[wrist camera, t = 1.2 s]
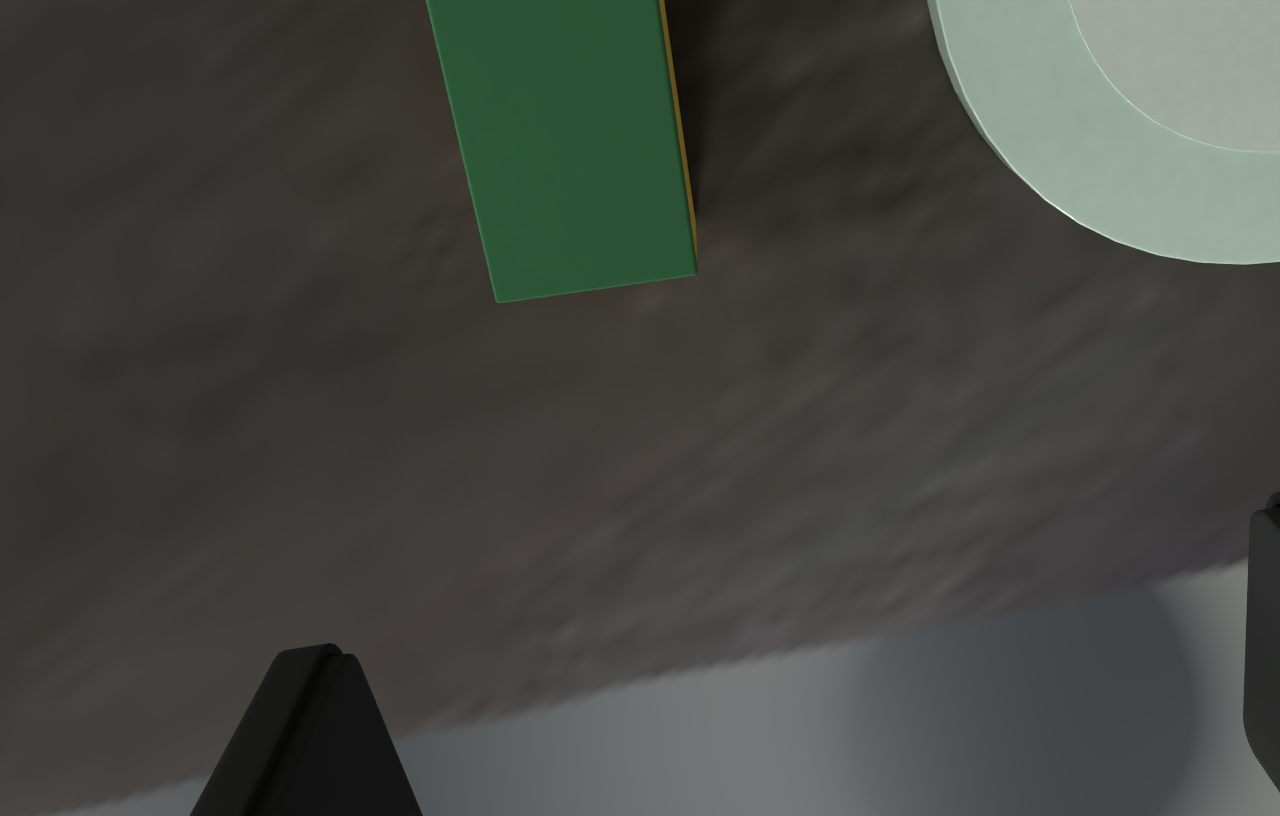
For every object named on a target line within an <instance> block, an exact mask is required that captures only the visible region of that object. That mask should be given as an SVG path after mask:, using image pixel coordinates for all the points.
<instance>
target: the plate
mask: <svg viewBox="0 0 1280 816" xmlns="http://www.w3.org/2000/svg"><path fill="white" fill-rule="evenodd" d="M927 2H928V7H929V11H930V15H931V20H932V24H933V28H934V32H935V36H936V40H937V44H938V48H939V51H940V54H941V57H942V59H943V62H944V64H945V67H946V69H947V72H948V74H949V77H950V79H951V82H952V85H953V87H954V90H955V92H956V94H957V95H958V97H959V99H960V101H961V102H962V104H963V106H964V108H965V110H966V111H967V113H968V115H969V117H970V118H971V120H972V122H973V124H974V125H975V127H976V129H977V130H978V131H979V133H980V134H981V135H982V137H983V138H984V139H985V140H986V142H987V143H988V144H989V145H990V147H991V148H992V149H993V151H994V152H995V153H996V154H997V156H998V157H999V158H1000V159H1001V161H1002V162H1003V163H1004V164H1005V165H1006V166H1007V167H1008V168H1009V169H1010V170H1012V171H1013V172H1014V173H1015V174H1016V175H1017V176H1018V177H1019V178H1020V179H1021V180H1022V181H1023V182H1024V183H1025V184H1026V185H1027V186H1029V187H1030V188H1031V189H1032V190H1033V191H1034V192H1035V193H1037V194H1038V195H1039V196H1040V197H1042V198H1043V199H1044V200H1046V201H1047V202H1048V203H1050V204H1051V205H1053V206H1054V207H1056V208H1057V209H1059V210H1060V211H1061V212H1063V213H1064V214H1066V215H1067V216H1069V217H1070V218H1072V219H1073V220H1074V221H1076V222H1077V223H1079V224H1081V225H1083V226H1085V227H1087V228H1089V229H1091V230H1093V231H1095V232H1097V233H1099V234H1101V235H1103V236H1105V237H1107V238H1109V239H1111V240H1113V241H1116V242H1118V243H1121V244H1124V245H1127V246H1131V247H1134V248H1137V249H1140V250H1143V251H1146V252H1149V253H1152V254H1155V255H1160V256H1166V257H1171V258H1177V259H1182V260H1188V261H1194V262H1200V263H1222V264H1257V263H1270V262H1280V0H927Z"/></svg>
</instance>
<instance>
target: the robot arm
mask: <svg viewBox="0 0 1280 816" xmlns="http://www.w3.org/2000/svg"><path fill="white" fill-rule="evenodd" d="M1245 649H1246V650H1245V676H1244V705H1243V721H1244V728H1245V733H1246V736H1247V739H1248V742H1249V744H1250V747H1251V749H1252V751H1253V753H1254V755H1255V756H1256V758H1257V759H1258V761H1259V762H1260V764H1261V765H1262V767H1263V768H1264V770H1265V771H1266V773H1267V774H1268V776H1269V777H1270V779H1271V780H1272V781H1273V783H1274V785H1275V786H1276V787H1277V789H1278V790H1279V792H1280V492H1276V493H1274V494H1272V495H1271V496H1270V498H1269V500H1268V502H1267V505H1266V509H1263V510H1257V511H1255V512H1254V513H1253V514H1252V516H1251V520H1250V531H1249V560H1248V591H1247V619H1246V648H1245ZM190 816H423V815H422V813H421V810H420V808H419V806H418V803H417V801H416V798H415V796H414V793H413V791H412V789H411V786H410V784H409V781H408V779H407V777H406V774H405V772H404V769H403V767H402V764H401V762H400V759H399V757H398V755H397V752H396V750H395V747H394V745H393V743H392V740H391V738H390V735H389V733H388V730H387V728H386V726H385V723H384V721H383V718H382V716H381V713H380V711H379V709H378V706H377V704H376V701H375V699H374V696H373V694H372V692H371V689H370V687H369V684H368V682H367V679H366V677H365V675H364V672H363V670H362V667H361V665H360V663H359V661H358V659H357V658H356V657H355V656H354V655H353V654H344V655H343V653H342V651H341V650H340V649H339V648H338V647H337V646H336V645H335V644H331V643H328V644H322V645H316V646H309V647H303V648H297V649H290V650H284V651H282V652H280V653H279V654H278V655H277V656H276V658H275V659H274V660H273V662H272V664H271V666H270V668H269V670H268V672H267V673H266V675H265V677H264V679H263V681H262V683H261V685H260V686H259V688H258V690H257V692H256V694H255V696H254V698H253V699H252V701H251V703H250V705H249V707H248V709H247V711H246V712H245V714H244V716H243V718H242V720H241V722H240V723H239V725H238V727H237V729H236V731H235V733H234V735H233V736H232V738H231V740H230V742H229V744H228V746H227V748H226V749H225V751H224V753H223V755H222V757H221V759H220V761H219V762H218V764H217V766H216V768H215V770H214V772H213V774H212V775H211V777H210V779H209V781H208V783H207V785H206V786H205V788H204V790H203V792H202V794H201V796H200V798H199V800H198V801H197V803H196V805H195V807H194V809H193V811H192V812H191V814H190Z"/></svg>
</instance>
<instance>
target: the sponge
mask: <svg viewBox="0 0 1280 816" xmlns="http://www.w3.org/2000/svg"><path fill="white" fill-rule="evenodd" d="M426 2H427V6H428V10H429V15H430V19H431V23H432V28H433V32H434V36H435V41H436V45H437V49H438V54H439V58H440V62H441V67H442V71H443V75H444V79H445V84H446V88H447V92H448V97H449V101H450V105H451V110H452V114H453V118H454V123H455V127H456V131H457V136H458V140H459V144H460V148H461V153H462V157H463V161H464V166H465V170H466V174H467V179H468V183H469V187H470V192H471V196H472V200H473V205H474V209H475V213H476V217H477V222H478V226H479V230H480V235H481V239H482V243H483V248H484V252H485V256H486V261H487V265H488V269H489V274H490V278H491V282H492V286H493V291H494V295H495V299H496V302H497V303H505V302H512V301H519V300H526V299H533V298H540V297H547V296H554V295H561V294H568V293H575V292H582V291H589V290H596V289H603V288H610V287H617V286H624V285H631V284H638V283H645V282H652V281H659V280H666V279H673V278H680V277H687V276H694V275H696V274H697V244H696V221H695V214H694V207H693V200H692V193H691V186H690V179H689V172H688V165H687V158H686V151H685V144H684V137H683V130H682V123H681V116H680V109H679V102H678V95H677V88H676V81H675V74H674V67H673V60H672V53H671V46H670V39H669V32H668V25H667V18H666V11H665V4H664V0H426Z"/></svg>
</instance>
